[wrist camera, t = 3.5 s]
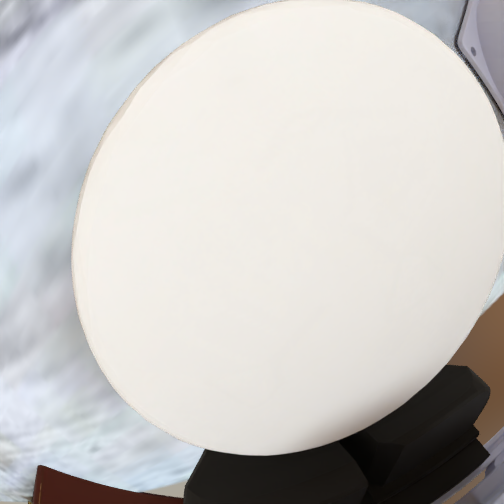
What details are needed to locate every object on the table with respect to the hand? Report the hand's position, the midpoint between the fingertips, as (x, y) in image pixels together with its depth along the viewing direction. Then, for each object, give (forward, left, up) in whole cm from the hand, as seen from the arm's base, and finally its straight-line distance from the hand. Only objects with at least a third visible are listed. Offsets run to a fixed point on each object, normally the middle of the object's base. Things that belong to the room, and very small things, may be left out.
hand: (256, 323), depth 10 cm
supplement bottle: (+3, -4, -2) cm, 6 cm away
